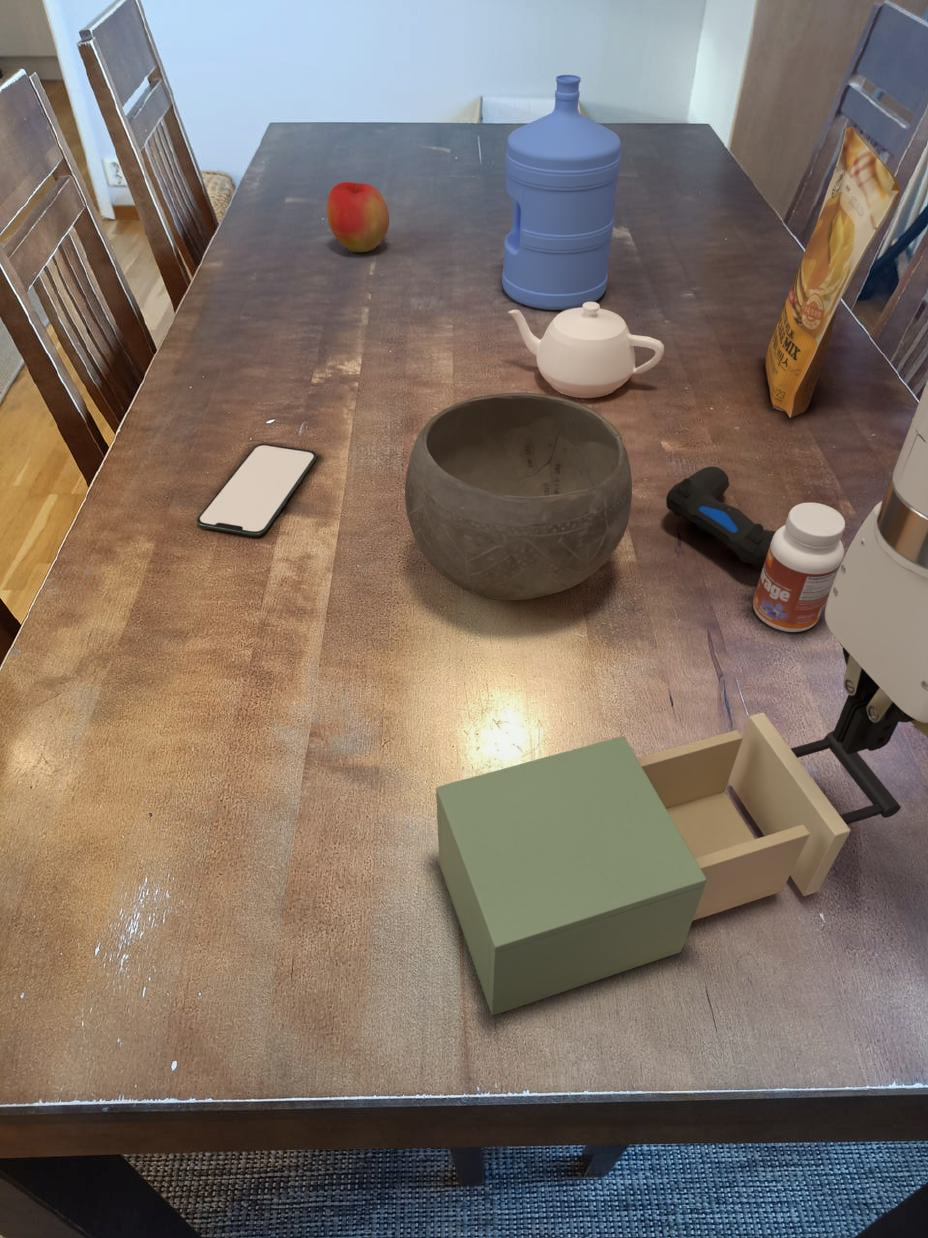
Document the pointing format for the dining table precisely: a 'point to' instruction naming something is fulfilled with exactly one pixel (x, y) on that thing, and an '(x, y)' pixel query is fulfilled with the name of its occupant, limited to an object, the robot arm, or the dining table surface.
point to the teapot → (587, 351)
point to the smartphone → (257, 490)
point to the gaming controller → (719, 515)
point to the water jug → (560, 205)
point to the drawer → (758, 811)
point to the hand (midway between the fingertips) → (858, 740)
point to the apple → (357, 215)
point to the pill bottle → (800, 568)
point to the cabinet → (564, 872)
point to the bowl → (518, 494)
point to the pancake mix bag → (828, 270)
